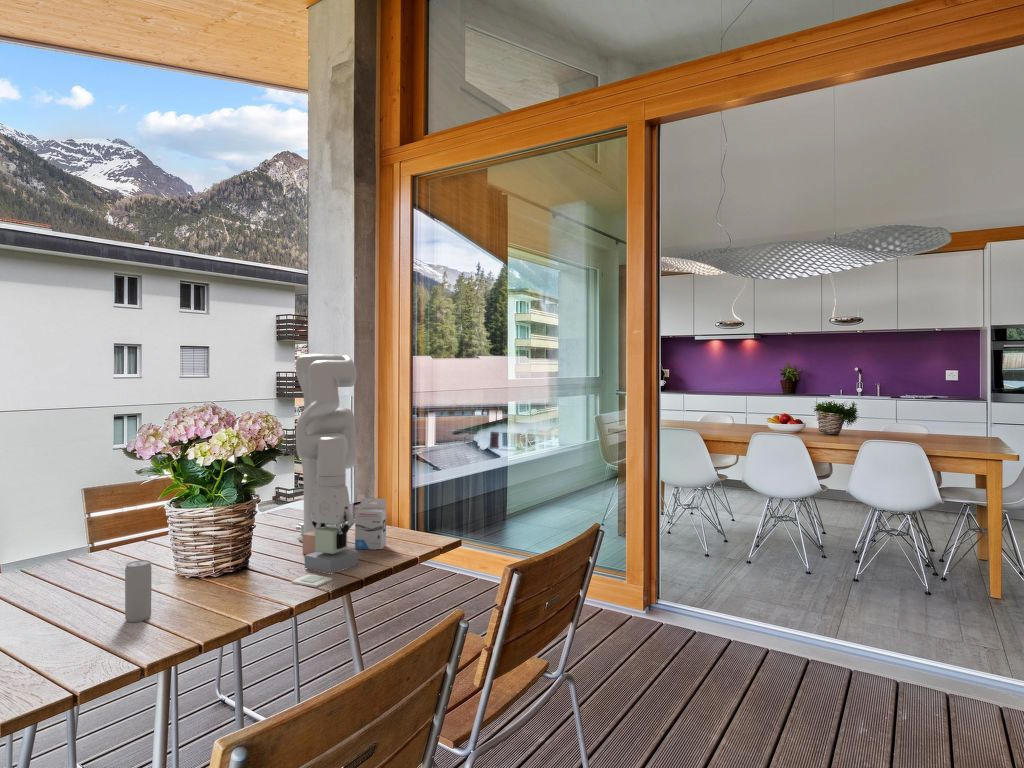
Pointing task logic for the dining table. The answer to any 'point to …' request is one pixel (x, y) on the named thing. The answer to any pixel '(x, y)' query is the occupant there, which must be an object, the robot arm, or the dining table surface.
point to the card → (311, 580)
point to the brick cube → (309, 542)
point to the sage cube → (327, 539)
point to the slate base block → (331, 560)
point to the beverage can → (138, 591)
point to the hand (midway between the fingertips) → (331, 545)
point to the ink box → (370, 524)
